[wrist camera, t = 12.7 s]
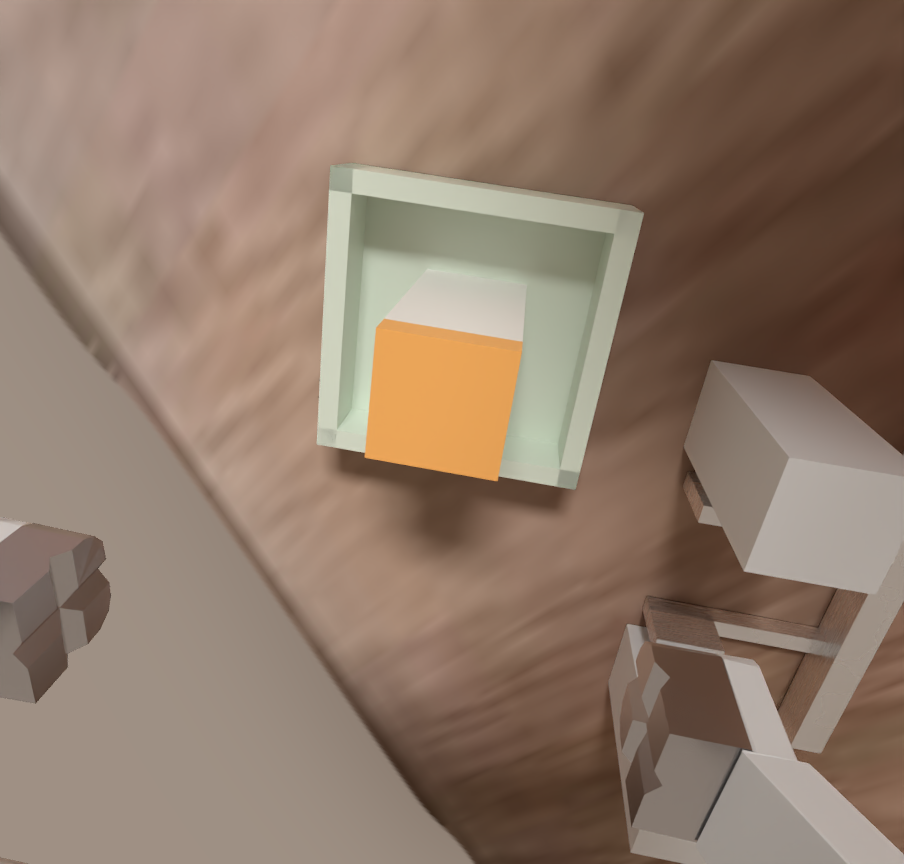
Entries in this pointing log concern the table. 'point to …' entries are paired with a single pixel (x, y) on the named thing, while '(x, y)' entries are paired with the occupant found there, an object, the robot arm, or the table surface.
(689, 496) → the rail
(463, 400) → the block
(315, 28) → the table surface
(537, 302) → the tray
